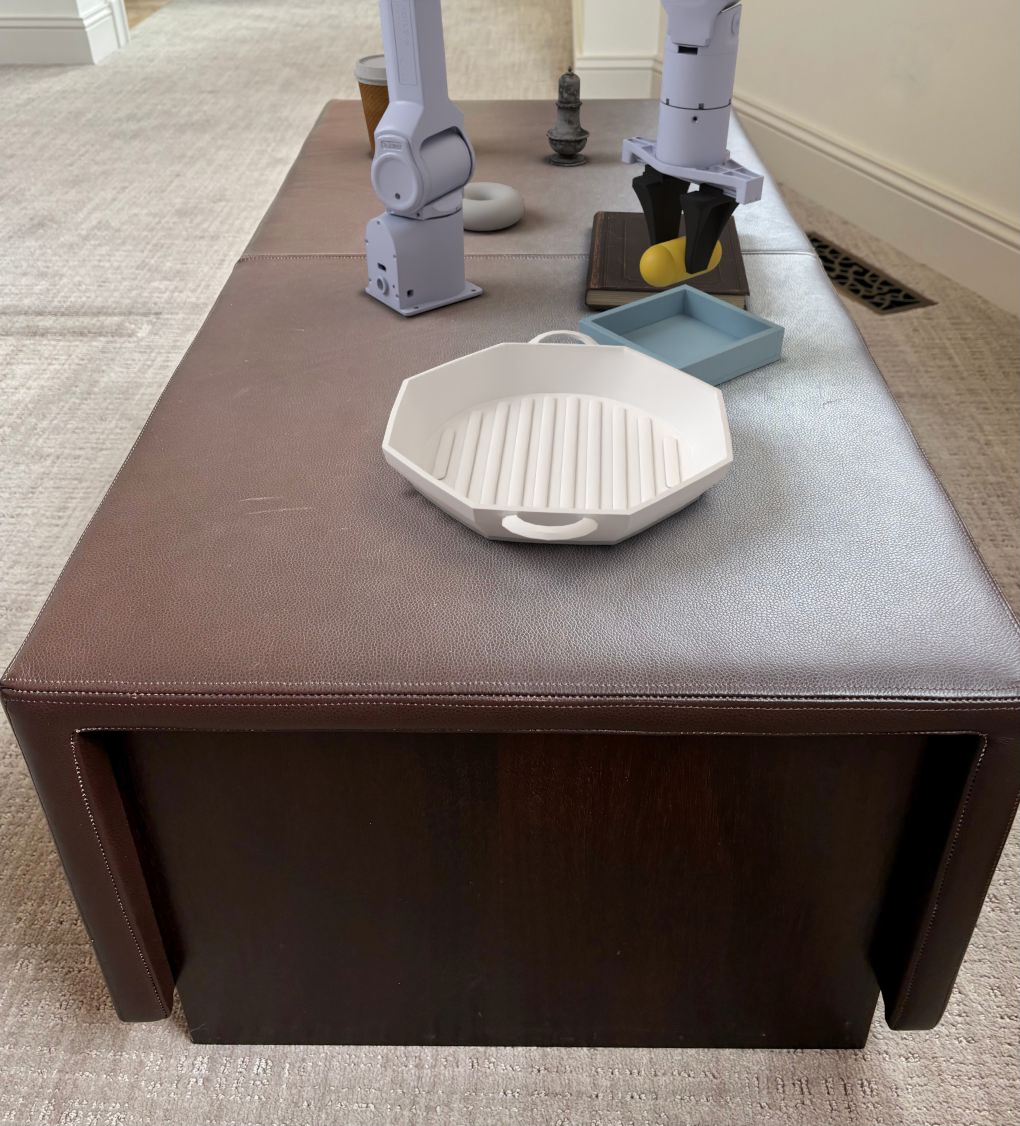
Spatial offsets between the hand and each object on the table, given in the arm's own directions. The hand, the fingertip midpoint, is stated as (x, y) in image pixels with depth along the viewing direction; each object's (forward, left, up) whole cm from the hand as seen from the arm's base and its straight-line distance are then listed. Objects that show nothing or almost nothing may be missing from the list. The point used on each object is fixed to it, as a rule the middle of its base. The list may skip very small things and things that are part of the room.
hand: (680, 263), depth 94 cm
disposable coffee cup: (+13, +68, -8) cm, 69 cm away
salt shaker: (+30, +51, -8) cm, 59 cm away
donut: (+7, +39, -8) cm, 40 cm away
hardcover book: (+13, +15, -8) cm, 21 cm away
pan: (-21, -9, -8) cm, 25 cm away
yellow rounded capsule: (0, 0, -1) cm, 1 cm away
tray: (0, -1, -8) cm, 8 cm away
